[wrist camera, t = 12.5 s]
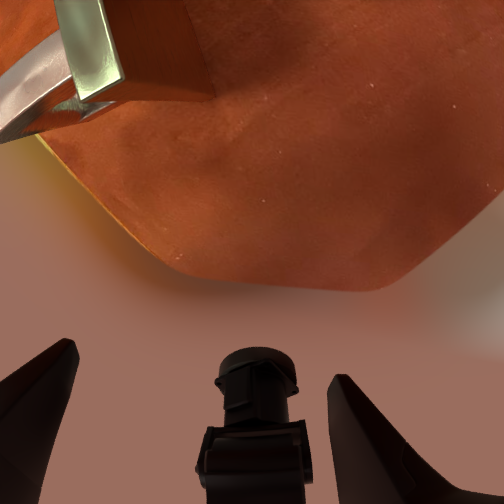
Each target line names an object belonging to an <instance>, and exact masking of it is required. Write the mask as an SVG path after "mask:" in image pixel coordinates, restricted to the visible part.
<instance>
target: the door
mask: <svg viewBox="0 0 504 504" xmlns="http://www.w3.org/2000/svg"><path fill="white" fill-rule="evenodd" d="M54 5H55V10H56V15H57V19H58V24H59V29H58V30H57V31H55V32H54V33H53V34H51V35H50V36H48V37H47V38H46V39H44V40H43V41H42V42H40V43H39V44H38V45H36V46H35V47H34V48H33V49H31V50H30V51H29V52H28V53H27V54H25V55H24V56H23V57H22V58H21V59H19V60H18V61H17V62H16V63H15V64H14V65H13V66H11V67H10V68H9V69H8V70H7V71H6V72H5V73H4V74H3V75H2V76H1V77H0V144H3V143H6V142H10V141H12V140H16V139H19V138H23V137H26V136H30V135H33V134H37V133H41V132H45V131H49V130H53V129H57V128H61V127H66V126H70V125H75V124H80V123H85V122H89V121H91V120H93V119H95V118H97V117H99V116H101V115H103V114H104V113H106V112H108V111H110V110H112V109H114V108H116V107H118V106H120V105H122V104H124V103H126V102H128V101H187V102H205V101H208V100H210V99H213V98H216V95H215V92H214V89H213V86H212V83H211V80H210V77H209V74H208V71H207V68H206V66H205V63H204V60H203V57H202V54H201V51H200V48H199V45H198V42H197V39H196V36H195V34H194V31H193V28H192V25H191V22H190V19H189V16H188V13H187V11H186V8H185V5H184V2H183V0H54Z"/></svg>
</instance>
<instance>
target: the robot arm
mask: <svg viewBox="0 0 504 504" xmlns="http://www.w3.org/2000/svg"><path fill="white" fill-rule="evenodd" d="M79 360H80V358H79V353H78V350H77V347H76V344H75V342H74V341H73V340H71V339H67V338H63V339H61V340H59V341H58V342H56V343H55V344H54V345H52V346H51V347H49V348H48V349H46V350H45V351H43V352H42V353H40V354H39V355H37V356H36V357H35V358H33V359H32V360H30V361H29V362H27V363H26V364H25V365H23V366H22V367H20V368H19V369H17V370H16V371H15V372H13V373H12V374H10V375H9V376H8V377H6V378H5V379H3V380H2V381H1V382H0V504H38V502H39V497H40V493H41V487H42V484H43V480H44V477H45V473H46V469H47V465H48V462H49V459H50V455H51V452H52V448H53V445H54V442H55V439H56V436H57V433H58V430H59V427H60V424H61V421H62V418H63V415H64V412H65V409H66V407H67V404H68V401H69V398H70V394H71V391H72V387H73V383H74V379H75V375H76V372H77V368H78V365H79ZM266 363H267V364H266ZM215 385H216V386H217V387H218V388H219V389H221V390H222V391H223V392H224V407H223V408H224V410H225V417H224V427H213V426H211V427H210V426H209V427H207V431H206V433H205V435H204V438H203V443H202V446H201V450H200V454H199V458H198V461H197V465H196V467H195V472H196V473H197V474H198V475H199V479H200V482H201V485H202V487H203V488H204V489H206V495H207V504H306V499H305V487H304V484H311V483H313V470H312V460H311V452H310V446H309V440H308V435H307V429H306V423H305V420H299V421H297V422H289V414H288V404H287V398H288V397H290V396H293V395H295V394H297V393H298V392H299V388H298V387H297V386H296V385H295V384H294V383H293V382H292V381H291V380H290V379H289V378H288V377H287V376H286V375H285V374H284V373H283V372H282V371H281V369H280V368H279V367H278V366H277V365H276V364H275V363H274V362H273V361H272V360H271V359H269V358H265V359H262V360H260V361H258V362H255V363H253V364H251V365H248V366H246V367H243V368H241V369H239V370H236V371H234V372H231V373H229V374H226V375H224V376H221V377H219V378H216V379H215ZM327 400H328V423H329V435H330V442H331V449H332V455H333V462H334V468H335V475H336V482H337V490H338V497H339V504H504V496H496V495H489V494H483V493H477V492H471V491H466V490H462V489H459V488H457V487H455V486H454V485H452V484H451V483H449V482H448V481H447V480H446V479H445V478H444V477H442V476H441V475H440V474H439V473H438V472H437V471H436V470H435V469H433V468H432V467H431V466H430V465H429V464H428V463H427V462H426V461H425V460H424V459H423V458H422V457H421V456H420V455H418V454H417V452H416V451H415V450H414V449H413V448H412V447H411V446H410V445H409V443H408V442H406V440H405V439H404V438H403V437H402V436H401V435H400V433H399V432H398V431H397V430H396V429H395V428H394V427H393V426H392V424H391V423H390V422H389V421H388V420H387V419H386V418H385V416H384V415H383V414H382V413H381V412H380V411H379V410H378V409H377V408H376V406H375V405H374V404H373V403H372V402H371V401H370V400H369V398H368V397H367V396H366V395H365V394H364V393H363V392H362V390H361V389H360V388H359V387H358V386H357V385H356V384H355V383H354V381H353V380H352V379H351V378H350V377H349V376H348V375H347V374H336V375H335V376H334V378H333V380H332V382H331V384H330V386H329V388H328V391H327Z"/></svg>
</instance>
